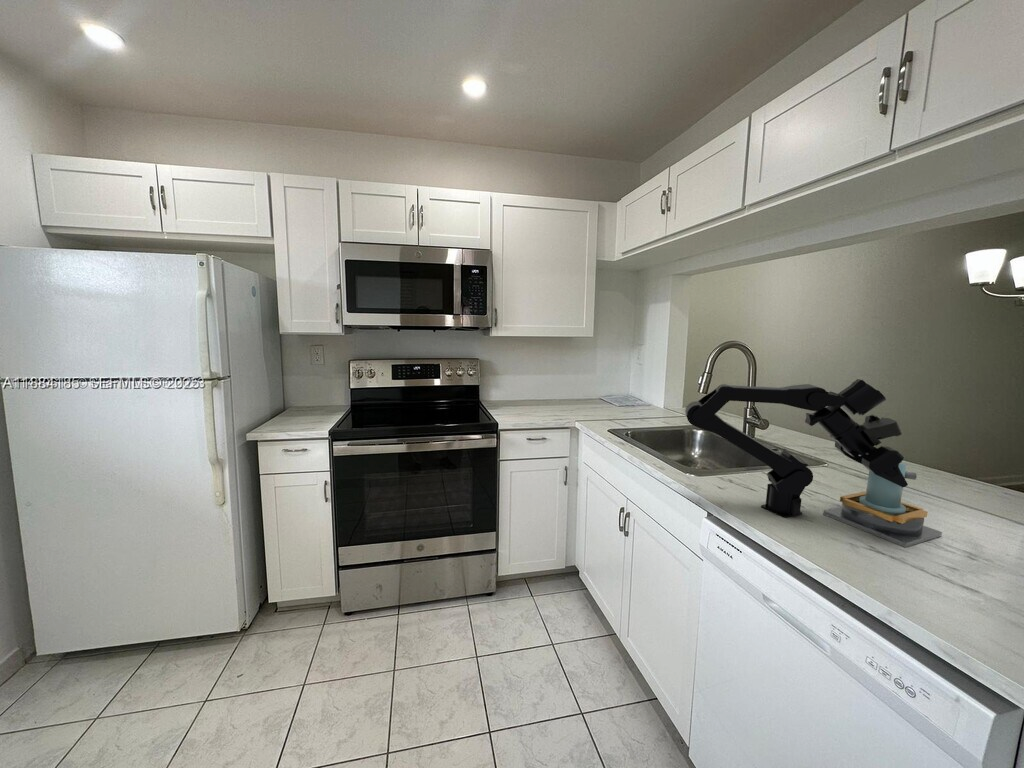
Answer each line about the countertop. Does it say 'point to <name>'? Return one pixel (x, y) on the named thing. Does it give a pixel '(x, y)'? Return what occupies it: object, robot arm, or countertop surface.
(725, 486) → the countertop surface
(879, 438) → the robot arm
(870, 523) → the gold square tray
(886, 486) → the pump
